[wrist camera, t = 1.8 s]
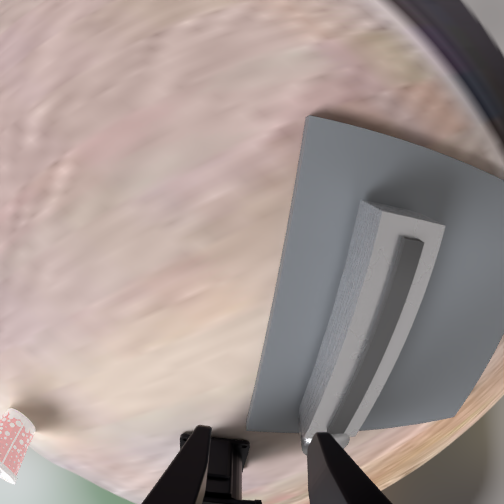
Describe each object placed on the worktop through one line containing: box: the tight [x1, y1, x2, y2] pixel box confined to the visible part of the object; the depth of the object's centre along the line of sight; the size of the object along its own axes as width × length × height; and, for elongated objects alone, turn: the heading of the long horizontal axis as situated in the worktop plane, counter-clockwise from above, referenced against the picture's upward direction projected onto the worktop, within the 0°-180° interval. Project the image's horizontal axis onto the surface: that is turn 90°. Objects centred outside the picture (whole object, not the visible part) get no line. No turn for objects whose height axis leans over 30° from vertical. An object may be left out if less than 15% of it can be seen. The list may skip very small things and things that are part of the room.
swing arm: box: [297, 200, 445, 455], centre depth 18 cm, size 19×4×3 cm, turn 172°
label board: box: [246, 115, 504, 433], centre depth 20 cm, size 24×23×1 cm
